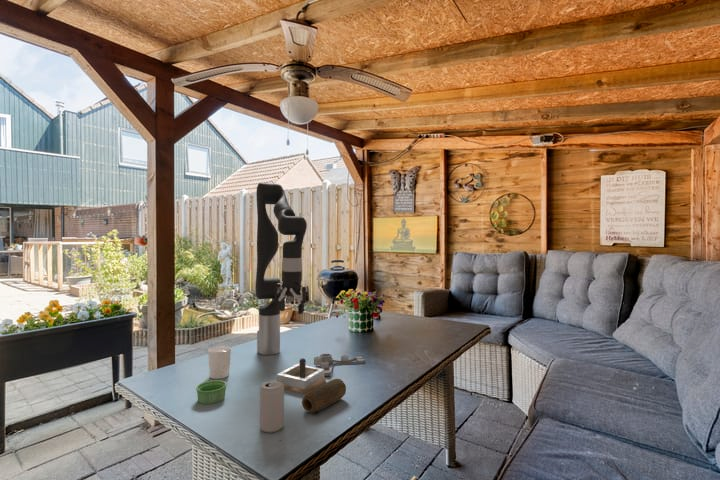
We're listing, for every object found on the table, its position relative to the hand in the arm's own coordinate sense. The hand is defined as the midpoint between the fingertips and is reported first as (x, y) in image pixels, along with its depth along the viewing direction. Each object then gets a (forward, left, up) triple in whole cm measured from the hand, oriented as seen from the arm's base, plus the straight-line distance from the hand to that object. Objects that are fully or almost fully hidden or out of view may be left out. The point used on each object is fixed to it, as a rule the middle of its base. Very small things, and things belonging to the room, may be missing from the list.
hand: (291, 312), depth 138 cm
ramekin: (-10, -29, -24) cm, 38 cm away
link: (+8, -6, -22) cm, 24 cm away
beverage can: (+19, -34, -24) cm, 45 cm away
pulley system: (+9, +16, -24) cm, 30 cm away
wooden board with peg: (+9, -6, -24) cm, 26 cm away
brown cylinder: (+25, -16, -24) cm, 38 cm away
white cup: (-23, -14, -24) cm, 36 cm away
